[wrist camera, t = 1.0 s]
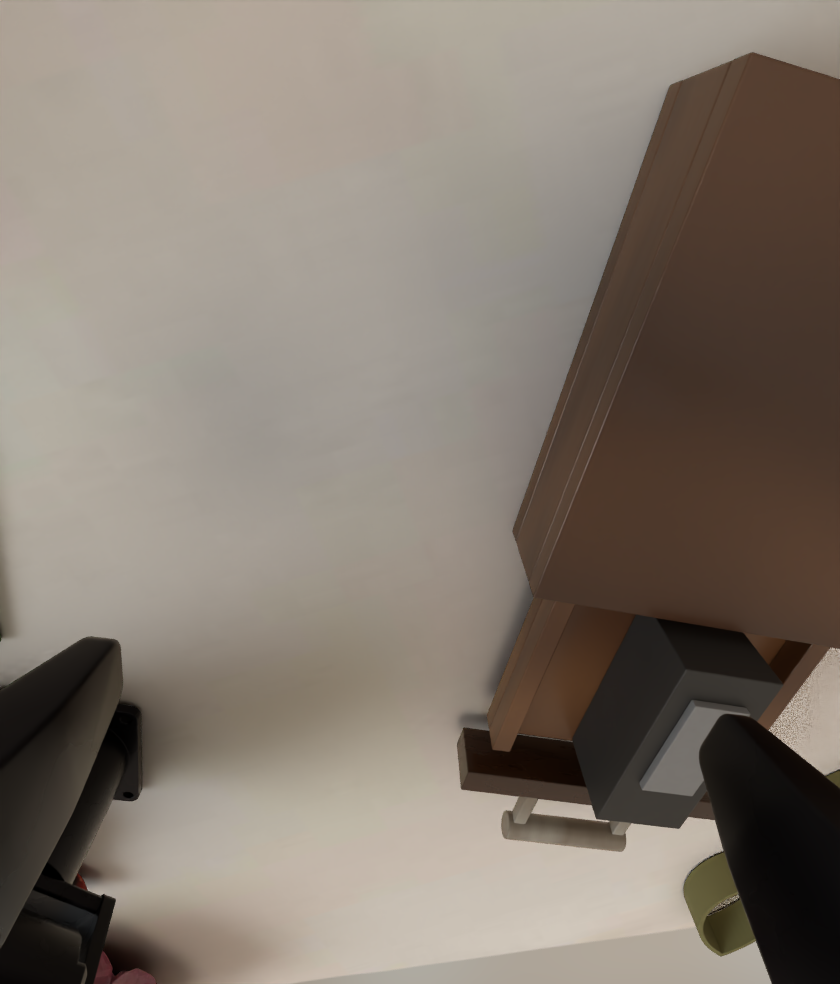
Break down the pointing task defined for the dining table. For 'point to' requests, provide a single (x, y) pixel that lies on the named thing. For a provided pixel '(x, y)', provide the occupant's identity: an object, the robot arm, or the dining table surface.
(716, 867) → the cookie cutter
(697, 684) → the dark grey block
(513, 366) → the dining table surface
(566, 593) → the cabinet
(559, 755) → the drawer
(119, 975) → the flower
